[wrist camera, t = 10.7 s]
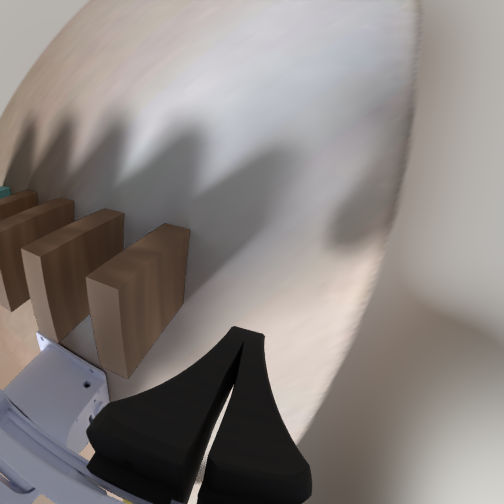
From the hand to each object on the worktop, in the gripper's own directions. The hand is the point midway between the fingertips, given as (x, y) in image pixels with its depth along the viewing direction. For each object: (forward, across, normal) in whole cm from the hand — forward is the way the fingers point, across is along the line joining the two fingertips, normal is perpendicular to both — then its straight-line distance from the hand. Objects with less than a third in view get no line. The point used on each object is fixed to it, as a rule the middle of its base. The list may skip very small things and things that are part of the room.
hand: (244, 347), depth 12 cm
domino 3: (+5, +14, 0) cm, 15 cm away
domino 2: (+5, +10, 0) cm, 11 cm away
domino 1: (+5, +6, 0) cm, 7 cm away
